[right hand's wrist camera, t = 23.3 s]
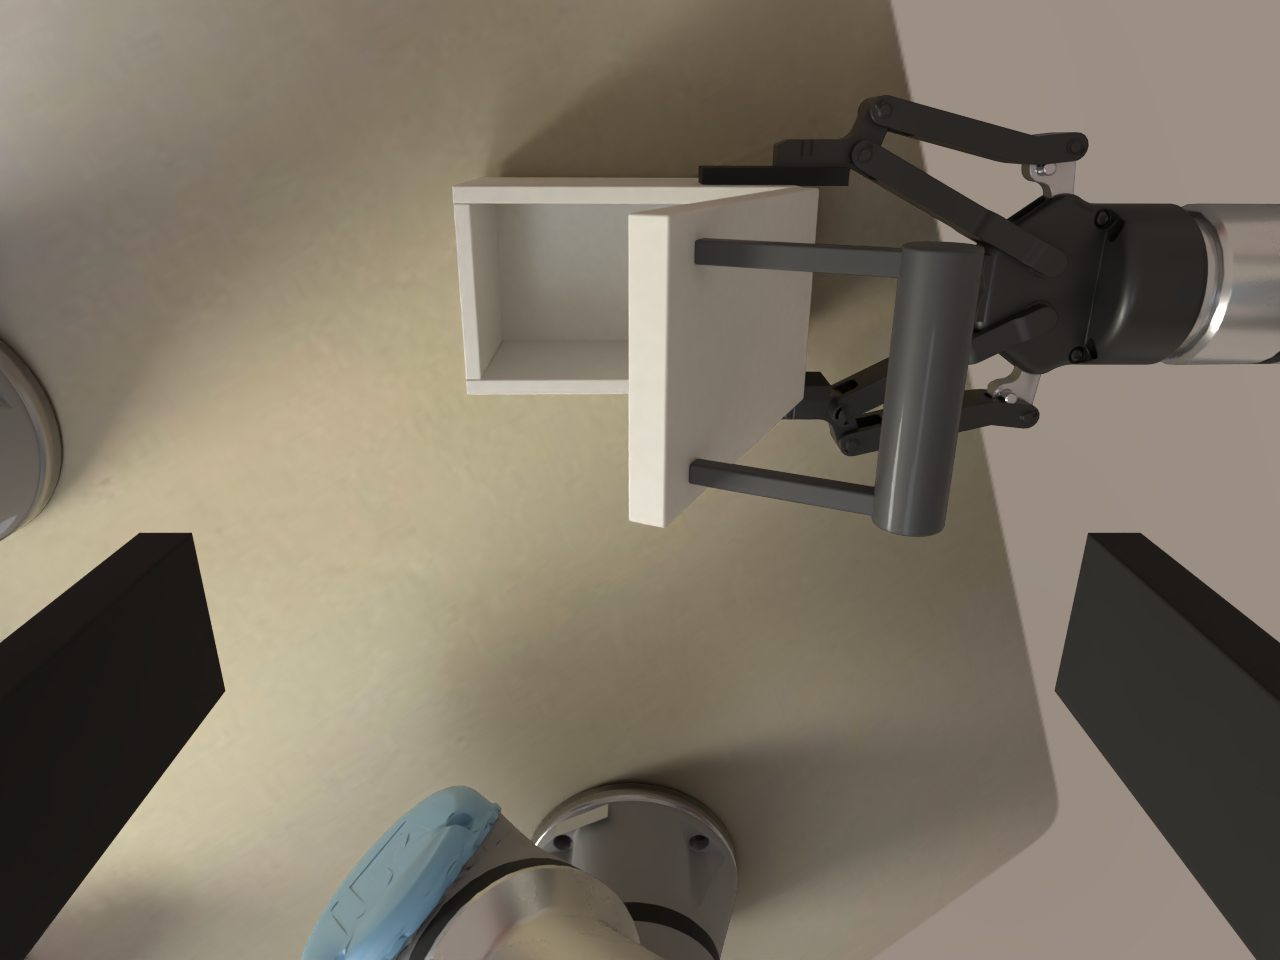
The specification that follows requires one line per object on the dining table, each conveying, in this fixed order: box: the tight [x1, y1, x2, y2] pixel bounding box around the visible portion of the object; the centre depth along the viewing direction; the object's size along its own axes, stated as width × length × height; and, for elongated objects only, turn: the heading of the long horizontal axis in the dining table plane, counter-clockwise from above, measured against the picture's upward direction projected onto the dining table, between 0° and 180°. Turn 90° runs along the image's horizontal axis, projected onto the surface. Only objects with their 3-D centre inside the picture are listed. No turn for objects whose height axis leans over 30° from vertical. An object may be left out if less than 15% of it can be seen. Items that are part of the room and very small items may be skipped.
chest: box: [452, 177, 800, 395], centre depth 43 cm, size 15×9×9 cm, turn 90°
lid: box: [628, 187, 985, 537], centre depth 30 cm, size 16×9×9 cm
